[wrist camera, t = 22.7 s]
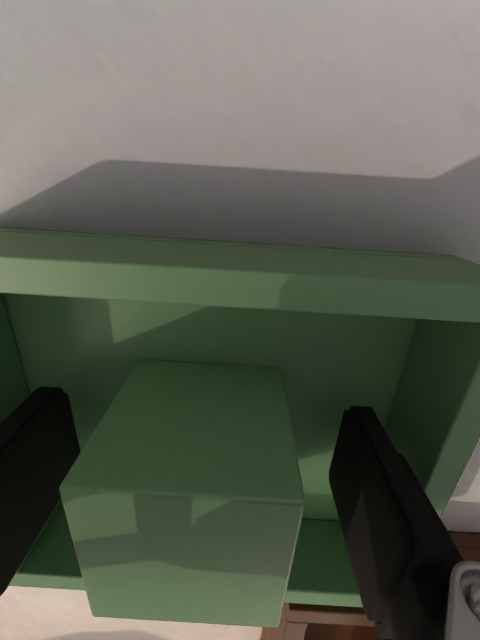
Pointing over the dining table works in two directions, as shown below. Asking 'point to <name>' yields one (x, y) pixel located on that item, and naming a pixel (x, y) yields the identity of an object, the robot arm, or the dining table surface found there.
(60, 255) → the green tray
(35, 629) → the dining table surface
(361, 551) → the robot arm
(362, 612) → the walnut tray
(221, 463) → the green block
